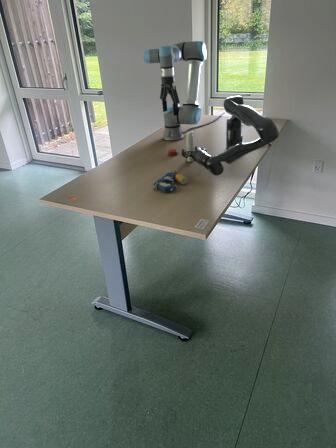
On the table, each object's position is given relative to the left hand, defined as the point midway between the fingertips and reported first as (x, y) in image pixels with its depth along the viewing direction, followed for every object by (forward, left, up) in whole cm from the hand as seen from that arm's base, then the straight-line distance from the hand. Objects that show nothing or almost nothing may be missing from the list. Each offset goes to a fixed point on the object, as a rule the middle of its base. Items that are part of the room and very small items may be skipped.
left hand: (170, 113), depth 205 cm
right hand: (-3, +16, -20) cm, 25 cm away
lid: (+1, 0, -24) cm, 24 cm away
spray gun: (+25, +41, -26) cm, 55 cm away
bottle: (-3, +17, -26) cm, 31 cm away
